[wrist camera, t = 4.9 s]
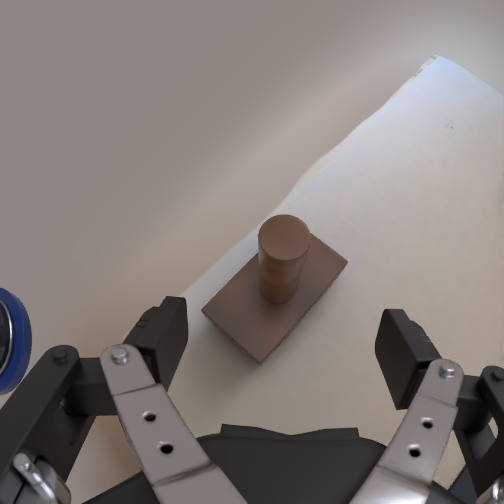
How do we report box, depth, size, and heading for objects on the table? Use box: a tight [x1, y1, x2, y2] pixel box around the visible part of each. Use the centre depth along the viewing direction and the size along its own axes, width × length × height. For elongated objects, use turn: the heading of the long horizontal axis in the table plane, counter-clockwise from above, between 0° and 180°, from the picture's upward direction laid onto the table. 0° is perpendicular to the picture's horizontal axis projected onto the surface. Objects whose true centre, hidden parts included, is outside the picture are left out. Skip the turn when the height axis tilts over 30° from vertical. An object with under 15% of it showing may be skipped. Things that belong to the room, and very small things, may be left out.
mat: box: [448, 465, 477, 504], centre depth 16 cm, size 10×6×1 cm, turn 138°
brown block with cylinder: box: [201, 215, 348, 366], centre depth 20 cm, size 10×5×10 cm, turn 138°
